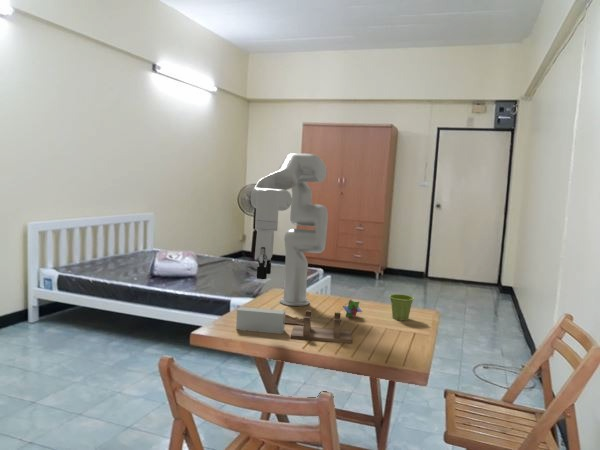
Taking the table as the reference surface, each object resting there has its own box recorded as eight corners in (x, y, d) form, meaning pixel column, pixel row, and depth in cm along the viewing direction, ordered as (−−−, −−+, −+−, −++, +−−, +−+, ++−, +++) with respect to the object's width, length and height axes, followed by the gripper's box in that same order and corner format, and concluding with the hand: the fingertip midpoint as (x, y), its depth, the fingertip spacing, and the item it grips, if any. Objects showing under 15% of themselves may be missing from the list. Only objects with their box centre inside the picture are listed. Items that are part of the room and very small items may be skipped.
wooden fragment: (317, 323, 175) (317, 320, 175) (302, 330, 166) (302, 327, 166) (261, 310, 189) (261, 308, 189) (244, 316, 180) (244, 313, 179)
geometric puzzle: (366, 314, 182) (361, 295, 186) (350, 315, 179) (346, 296, 183) (358, 321, 187) (354, 302, 191) (343, 322, 185) (338, 303, 189)
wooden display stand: (293, 328, 167) (294, 308, 166) (350, 332, 165) (352, 313, 165) (290, 338, 156) (291, 317, 155) (351, 343, 154) (353, 322, 154)
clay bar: (239, 326, 166) (240, 306, 165) (284, 330, 164) (285, 310, 163) (236, 330, 162) (237, 309, 161) (282, 334, 160) (283, 313, 159)
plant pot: (406, 323, 180) (407, 301, 180) (383, 318, 186) (385, 296, 185) (416, 318, 188) (418, 297, 187) (394, 313, 194) (396, 293, 193)
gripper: (259, 223, 169) (257, 271, 170) (250, 227, 151) (248, 280, 153) (280, 224, 168) (277, 272, 169) (274, 228, 151) (271, 281, 152)
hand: (263, 276), depth 161 cm, fingers open, 9 cm apart
